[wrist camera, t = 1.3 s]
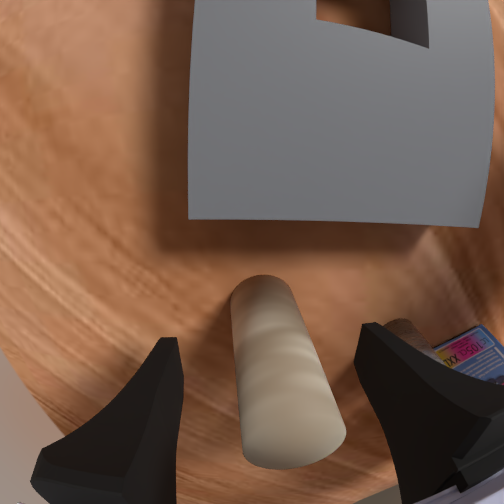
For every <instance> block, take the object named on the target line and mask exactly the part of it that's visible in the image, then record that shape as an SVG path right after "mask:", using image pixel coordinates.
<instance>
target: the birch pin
mask: <svg viewBox="0 0 504 504" xmlns="http://www.w3.org/2000/svg"><path fill="white" fill-rule="evenodd" d="M230 308H231V321H232V335H233V348H234V360H235V372H236V384H237V395H238V406H239V417H240V428H241V438H242V448H243V455H244V457H245V458H246V459H247V460H248V461H249V462H250V463H252V464H254V465H256V466H259V467H262V468H266V469H292V468H298V467H302V466H306V465H309V464H312V463H315V462H317V461H319V460H321V459H323V458H325V457H327V456H328V455H330V454H331V453H333V452H334V451H335V450H336V449H337V448H338V447H339V446H340V445H341V444H342V443H343V441H344V439H345V436H346V428H345V425H344V422H343V420H342V417H341V415H340V412H339V409H338V407H337V404H336V402H335V399H334V396H333V394H332V391H331V389H330V386H329V384H328V381H327V378H326V376H325V373H324V371H323V368H322V366H321V363H320V361H319V358H318V356H317V353H316V351H315V348H314V346H313V343H312V341H311V338H310V336H309V333H308V331H307V328H306V326H305V323H304V321H303V318H302V316H301V313H300V311H299V308H298V306H297V304H296V301H295V299H294V296H293V294H292V291H291V289H290V287H289V286H288V285H287V284H286V283H285V282H284V281H283V280H281V279H280V278H278V277H275V276H272V275H256V276H253V277H250V278H248V279H246V280H244V281H243V282H241V283H240V284H239V285H238V286H237V287H236V288H235V290H234V292H233V293H232V296H231V300H230Z"/></svg>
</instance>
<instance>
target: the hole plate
mask: <svg viewBox="0 0 504 504" xmlns="http://www.w3.org/2000/svg"><path fill="white" fill-rule="evenodd" d="M390 16H391V36H388V35H384V34H380V33H377V32H373V31H369V30H365V29H361V28H356V27H352V26H347V25H343V24H338V23H332V22H327V21H321V20H316V0H195V6H194V18H193V32H192V47H191V65H190V86H189V118H188V219H239V220H308V221H345V222H373V223H397V224H418V225H437V226H454V227H470V228H479V223H480V219H481V214H482V209H483V204H484V198H485V193H486V187H487V180H488V173H489V166H490V158H491V149H492V138H493V125H494V103H495V70H494V49H493V36H492V26H491V18H490V10H489V3H488V0H390Z"/></svg>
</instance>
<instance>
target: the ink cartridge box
mask: <svg viewBox="0 0 504 504" xmlns="http://www.w3.org/2000/svg"><path fill="white" fill-rule="evenodd" d="M433 349H434V351H435V352H436V353H437V354H438V356H439V357H440V358H441V359H442V361H443V362H444V363H445V365H446V366H447V367H449V368H452V369H454V370H456V371H458V372H461V373H463V374H466V375H469V376H471V377H474V378H477V379H480V380H484V381H487V382H491V383H495V384H500V385H504V347H503V346H502V344H501V343H500V342H499V341H498V340H497V339H496V338H495V337H494V336H493V335H492V334H491V333H490V332H489V331H488V330H487V328H485V327H484V325H482V324H480V325H479V326H477V327H475V328H473V329H472V330H470V331H468V332H466V333H464V334H462V335H460V336H458V337H456V338H454V339H452V340H450V341H448V342H446V343H444V344H442V345H440V346H438V347H435V348H433Z"/></svg>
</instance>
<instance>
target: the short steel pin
mask: <svg viewBox="0 0 504 504" xmlns="http://www.w3.org/2000/svg"><path fill="white" fill-rule="evenodd" d="M383 327H384V328H386V329H387V330H389V331H390V332H392V333H393V334H395V335H396V336H398V337H399V338H401V339H402V340H403V341H405V342H406V343H408V344H409V345H411V346H412V347H414V348H416V349H417V350H419V351H420V352H422V353H424V354H425V355H427V356H429V357H430V358H432V359H434V360H436V361H437V362H439V363H441V364H443V365H445V363H444V362H443V361H442V359H441V358H440V357H439V356H438V354H437V353H436V352H435V351H434V349H433V348H432V347H431V346H430V344H429V343H428V342H427V341H426V339H425V338H424V337H423V336H422V334H421V333H420V332H419V331H418V330H417V328H416V327H415V326H414V325H413V324H412V322H411V321H409V320H407V319H396V320H393V321H390V322H389V323H387V324H385V325H384V326H383ZM445 366H446V365H445Z"/></svg>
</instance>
